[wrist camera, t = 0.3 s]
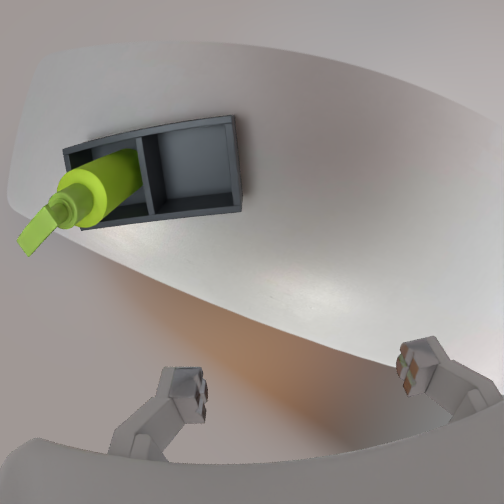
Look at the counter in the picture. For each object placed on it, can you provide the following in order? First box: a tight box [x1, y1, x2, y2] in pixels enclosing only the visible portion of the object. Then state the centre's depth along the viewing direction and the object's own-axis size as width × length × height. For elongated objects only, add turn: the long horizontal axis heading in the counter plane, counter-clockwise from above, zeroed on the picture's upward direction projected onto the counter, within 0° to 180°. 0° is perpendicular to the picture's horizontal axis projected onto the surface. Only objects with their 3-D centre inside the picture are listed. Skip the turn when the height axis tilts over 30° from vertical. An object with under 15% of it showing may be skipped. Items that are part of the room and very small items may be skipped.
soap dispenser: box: [17, 149, 143, 257], centre depth 29 cm, size 6×7×20 cm
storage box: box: [63, 115, 243, 231], centre depth 35 cm, size 11×20×6 cm, turn 95°
